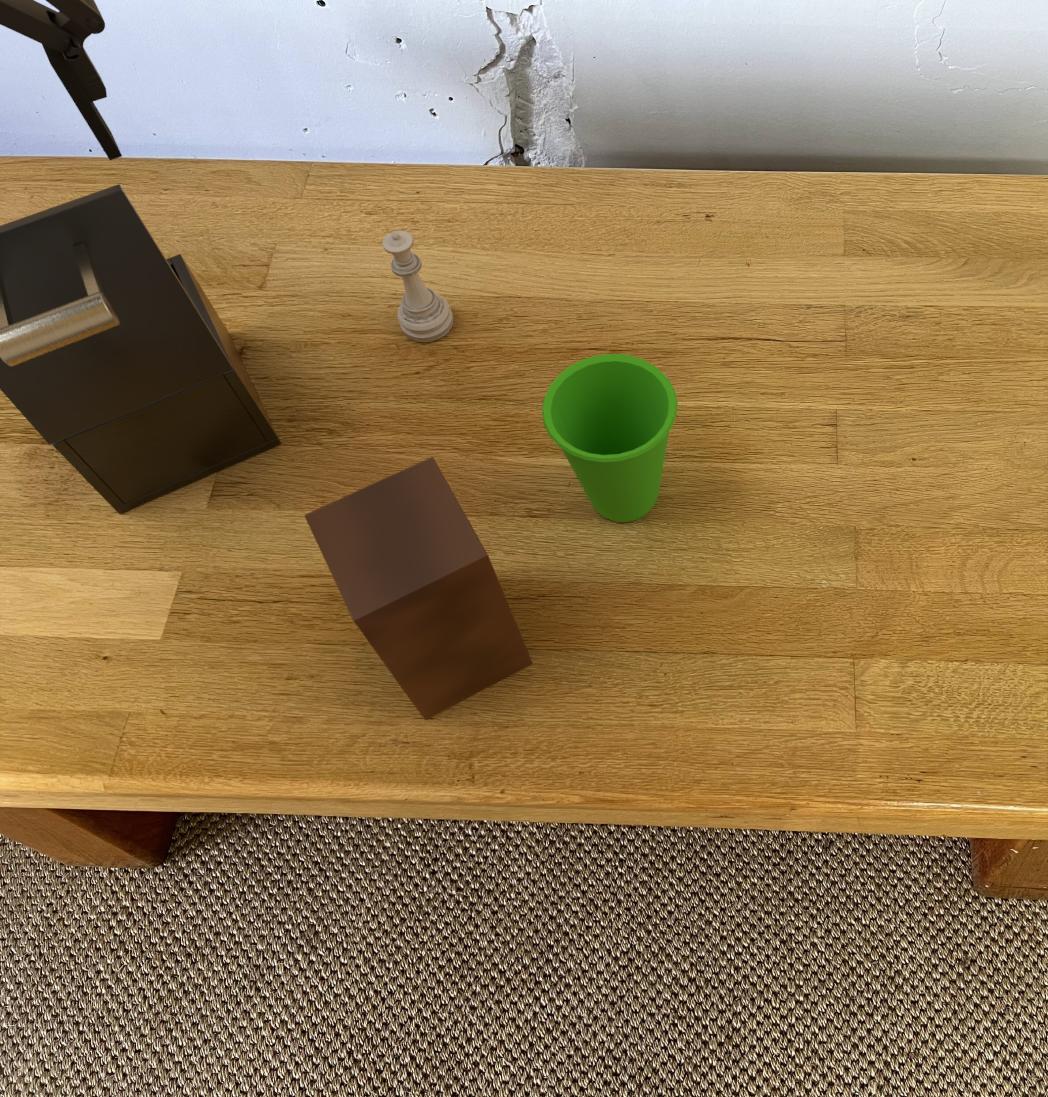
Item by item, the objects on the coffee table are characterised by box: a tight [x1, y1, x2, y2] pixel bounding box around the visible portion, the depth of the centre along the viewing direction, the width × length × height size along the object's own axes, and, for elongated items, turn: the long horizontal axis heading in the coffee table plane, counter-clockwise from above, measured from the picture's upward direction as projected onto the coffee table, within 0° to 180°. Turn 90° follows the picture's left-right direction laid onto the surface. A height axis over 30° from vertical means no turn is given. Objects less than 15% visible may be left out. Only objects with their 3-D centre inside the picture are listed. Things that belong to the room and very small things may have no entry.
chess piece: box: [381, 230, 454, 343], centre depth 82 cm, size 4×4×10 cm
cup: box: [541, 353, 679, 523], centre depth 73 cm, size 9×9×11 cm
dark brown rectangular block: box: [304, 456, 533, 721], centre depth 65 cm, size 8×8×15 cm
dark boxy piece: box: [51, 253, 282, 515], centre depth 78 cm, size 14×13×9 cm
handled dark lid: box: [0, 183, 233, 445], centre depth 63 cm, size 14×13×9 cm
